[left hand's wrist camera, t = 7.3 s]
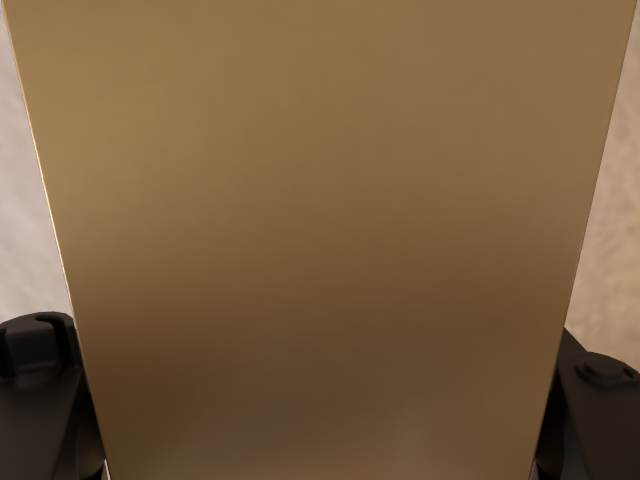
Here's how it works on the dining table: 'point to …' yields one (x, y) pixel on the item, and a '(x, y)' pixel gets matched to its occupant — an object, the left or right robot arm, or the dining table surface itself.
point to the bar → (319, 223)
